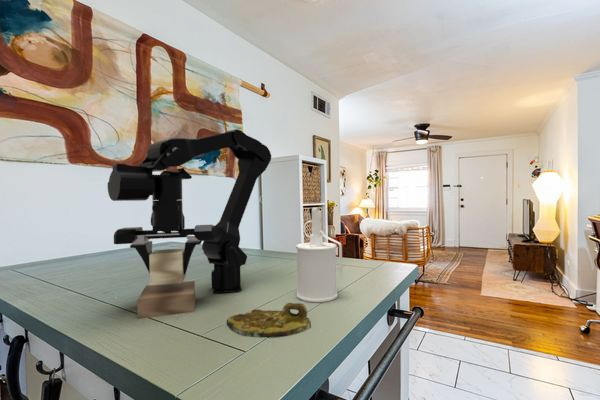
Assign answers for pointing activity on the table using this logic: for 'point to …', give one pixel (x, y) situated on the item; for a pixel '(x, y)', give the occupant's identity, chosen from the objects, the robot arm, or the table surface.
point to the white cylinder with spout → (317, 264)
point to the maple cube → (166, 266)
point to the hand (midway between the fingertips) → (168, 275)
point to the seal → (271, 322)
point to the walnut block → (166, 299)
